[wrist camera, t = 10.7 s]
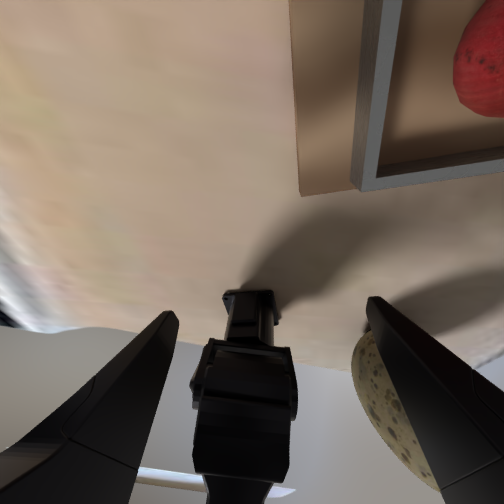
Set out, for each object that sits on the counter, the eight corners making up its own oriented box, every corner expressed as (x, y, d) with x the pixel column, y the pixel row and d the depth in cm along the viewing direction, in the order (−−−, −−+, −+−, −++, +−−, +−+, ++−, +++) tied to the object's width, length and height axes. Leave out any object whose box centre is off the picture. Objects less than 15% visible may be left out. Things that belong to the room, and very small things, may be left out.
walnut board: (579, 148, 15) (606, 151, 14) (299, 190, 18) (301, 196, 17) (859, -288, 7) (976, -364, 6) (284, -80, 11) (286, -105, 9)
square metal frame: (546, 150, 14) (592, 158, 12) (349, 180, 16) (361, 192, 14) (771, -250, 7) (973, -392, 5) (373, -108, 9) (403, -169, 7)
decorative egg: (387, 359, 33) (456, 510, 21) (325, 343, 31) (361, 495, 19) (444, 320, 27) (591, 502, 15) (371, 297, 25) (466, 478, 13)
